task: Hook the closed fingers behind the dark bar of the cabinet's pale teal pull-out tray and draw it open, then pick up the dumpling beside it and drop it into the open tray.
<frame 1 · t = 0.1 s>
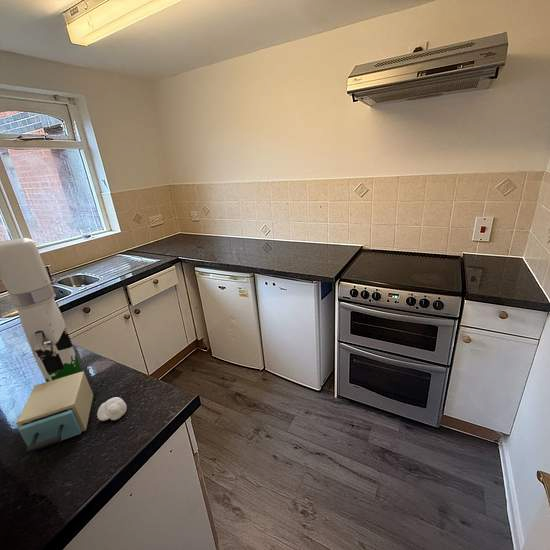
hand: (61, 358, 72), 19 cm above the countertop, tool pointing down, fingers open, 9 cm apart
cabinet: (65, 419, 79), on the countertop
dumpling: (113, 416, 78), on the countertop
drawer: (54, 420, 73), point 4 cm above the countertop, slide at 0.5 cm
milk carton: (69, 388, 90), on the countertop
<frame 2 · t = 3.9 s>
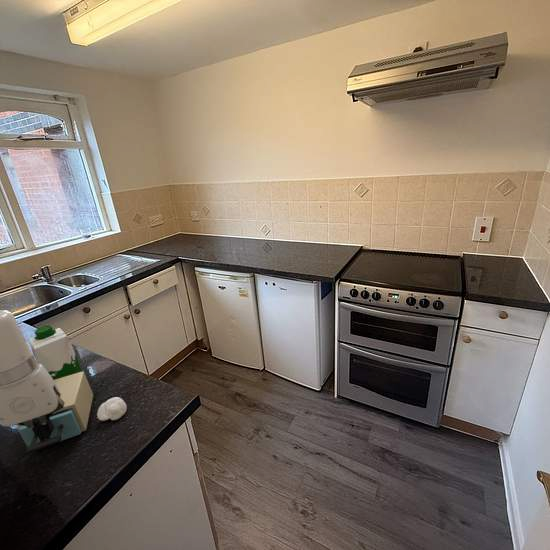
hand: (47, 435, 67), 6 cm above the countertop, tool pointing down, fingers closed
drawer: (54, 420, 73), point 4 cm above the countertop, slide at 0.6 cm, touching gripper
everything else where it was.
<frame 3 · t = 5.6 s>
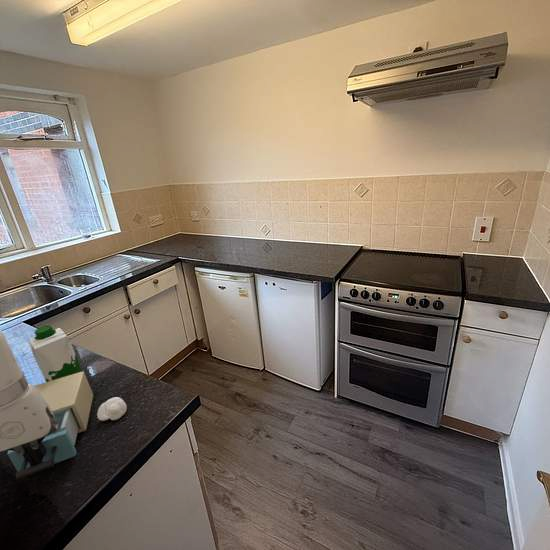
hand: (38, 459, 62), 5 cm above the countertop, tool pointing down, fingers closed
drawer: (47, 441, 67), point 4 cm above the countertop, slide at 6.9 cm
everything else where it was.
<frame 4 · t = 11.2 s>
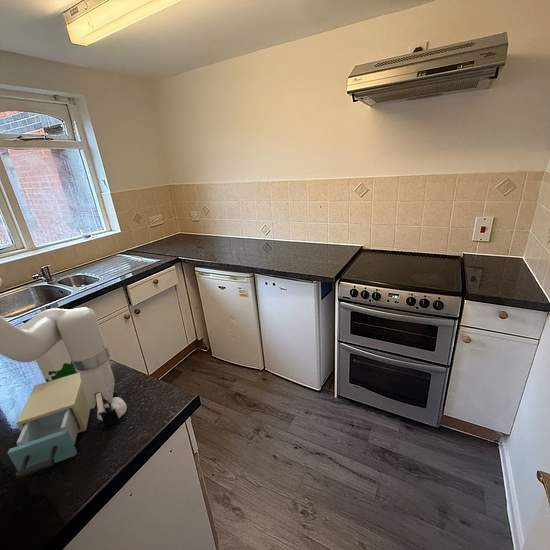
hand: (113, 414, 78), 1 cm above the countertop, tool pointing down, fingers closed on dumpling, 5 cm apart
dumpling: (113, 416, 78), on the countertop, touching gripper
everything else where it was.
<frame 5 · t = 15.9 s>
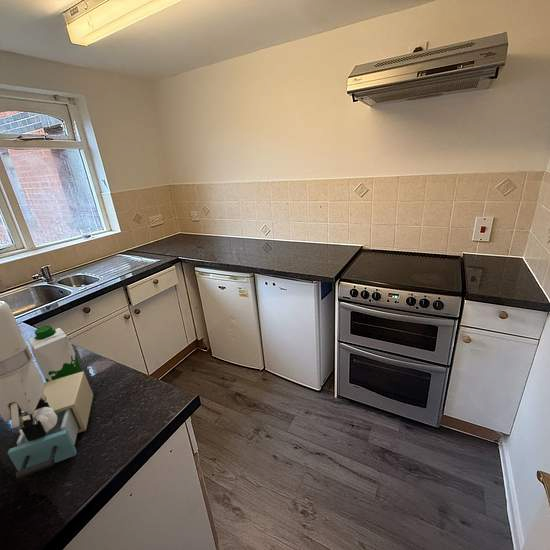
hand: (41, 427, 66), 8 cm above the countertop, tool pointing down, fingers closed on dumpling, 5 cm apart
dumpling: (41, 429, 67), point 7 cm above the countertop, touching gripper
everything else where it was.
when the fingers open (8 cm above the countertop, at t = 17.7 s): dumpling drops 4 cm, resting on drawer.
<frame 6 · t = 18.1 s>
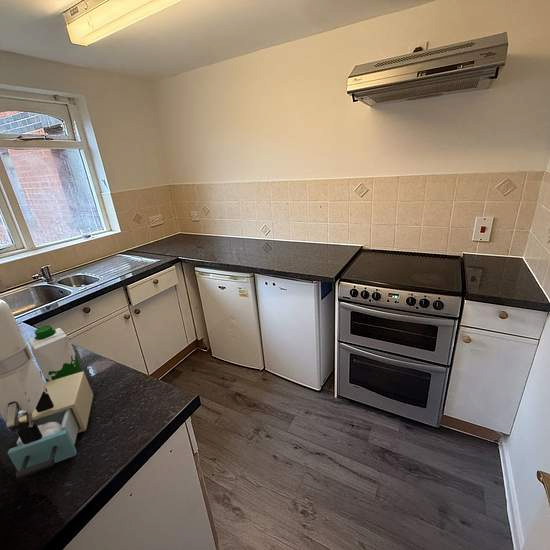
hand: (40, 424, 66), 9 cm above the countertop, tool pointing down, fingers open, 8 cm apart
dumpling: (44, 443, 68), point 3 cm above the countertop, touching drawer
drawer: (47, 440, 67), point 4 cm above the countertop, slide at 6.8 cm, touching dumpling
everything else where it was.
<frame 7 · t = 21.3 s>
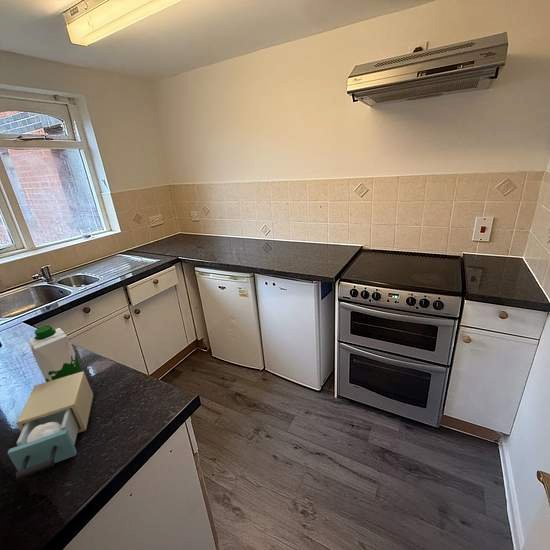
nothing on the countertop moved.
at the end: drawer slide at 6.8 cm; dumpling inside the target area in the drawer (1.2 cm from its centre), point 3.1 cm above the cabinet's base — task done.
